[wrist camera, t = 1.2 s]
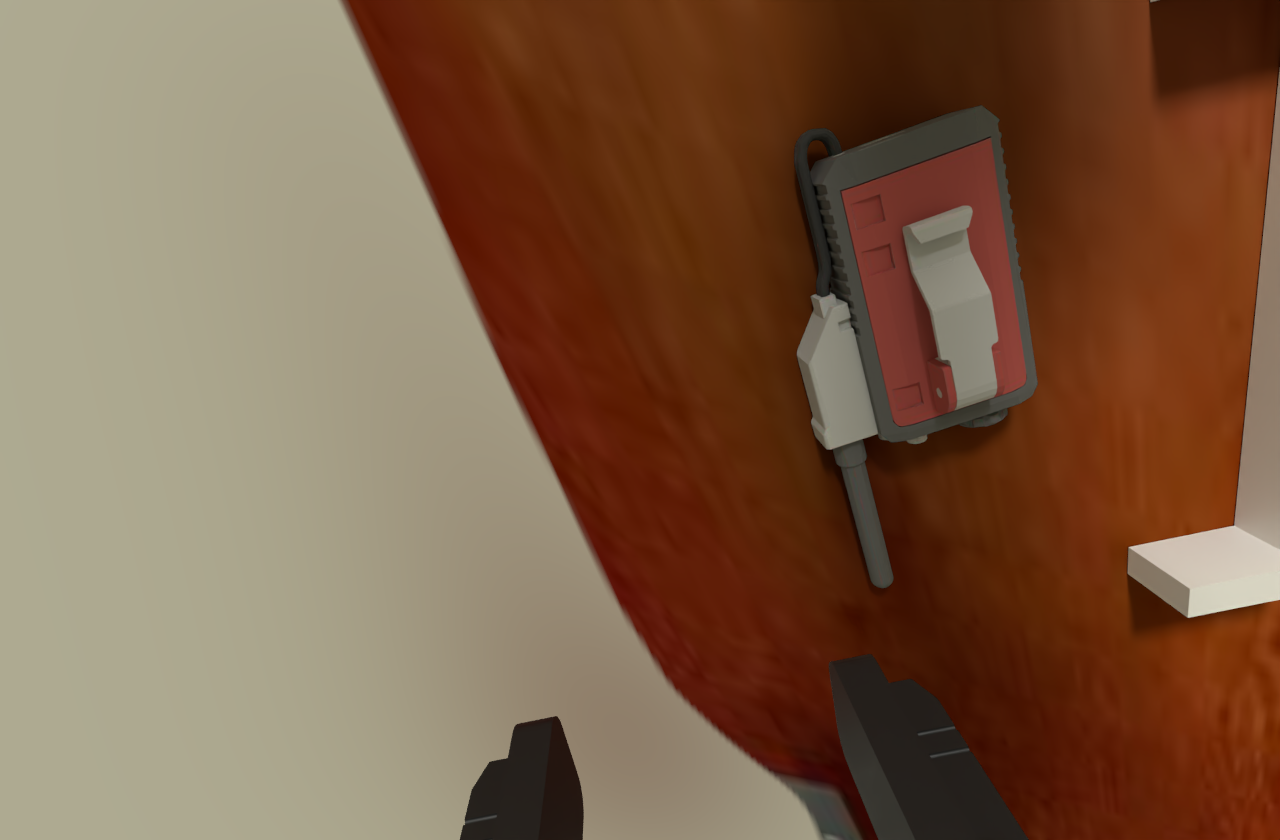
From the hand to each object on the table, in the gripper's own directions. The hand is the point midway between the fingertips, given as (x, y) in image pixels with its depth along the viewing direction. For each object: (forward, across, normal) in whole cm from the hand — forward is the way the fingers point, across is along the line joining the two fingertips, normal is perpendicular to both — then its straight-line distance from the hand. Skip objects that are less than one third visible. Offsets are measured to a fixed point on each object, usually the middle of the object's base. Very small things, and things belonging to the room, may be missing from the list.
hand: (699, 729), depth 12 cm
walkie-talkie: (+18, -11, 0) cm, 21 cm away
